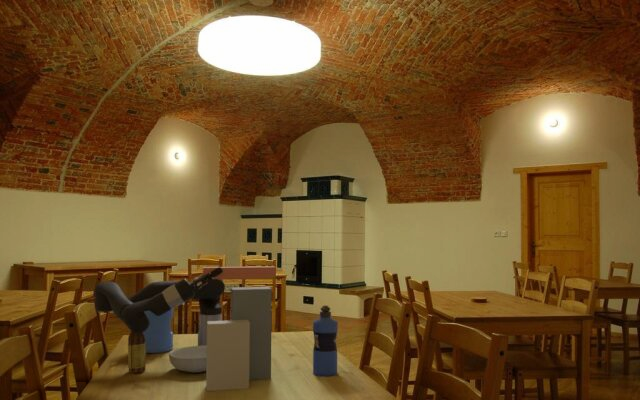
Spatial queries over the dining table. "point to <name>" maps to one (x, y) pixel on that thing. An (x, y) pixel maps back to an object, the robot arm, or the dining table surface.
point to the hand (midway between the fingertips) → (221, 269)
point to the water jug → (159, 333)
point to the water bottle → (325, 344)
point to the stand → (240, 341)
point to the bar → (243, 272)
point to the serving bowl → (189, 358)
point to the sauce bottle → (136, 352)
